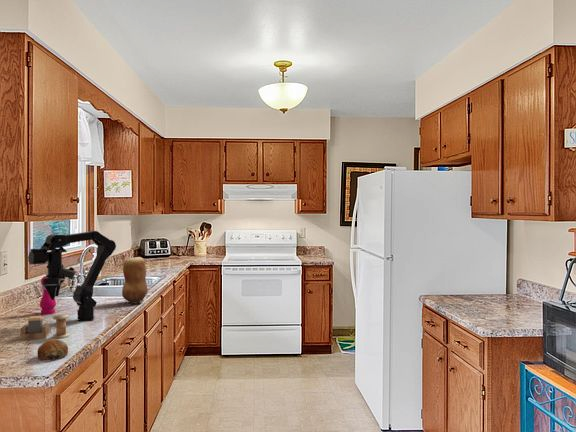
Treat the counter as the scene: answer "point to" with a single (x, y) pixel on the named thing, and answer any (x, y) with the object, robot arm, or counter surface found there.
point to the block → (34, 324)
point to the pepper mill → (46, 301)
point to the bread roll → (52, 350)
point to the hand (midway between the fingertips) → (55, 298)
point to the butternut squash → (134, 280)
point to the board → (44, 333)
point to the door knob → (61, 326)
